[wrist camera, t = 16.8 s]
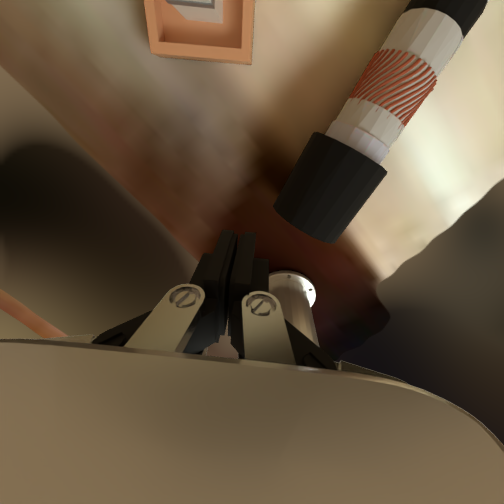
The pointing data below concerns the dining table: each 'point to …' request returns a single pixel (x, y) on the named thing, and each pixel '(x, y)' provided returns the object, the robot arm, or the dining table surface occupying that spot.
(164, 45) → the dish
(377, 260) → the dining table surface
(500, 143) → the dining table surface
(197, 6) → the block
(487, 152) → the dining table surface
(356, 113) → the striped tapered cylinder
